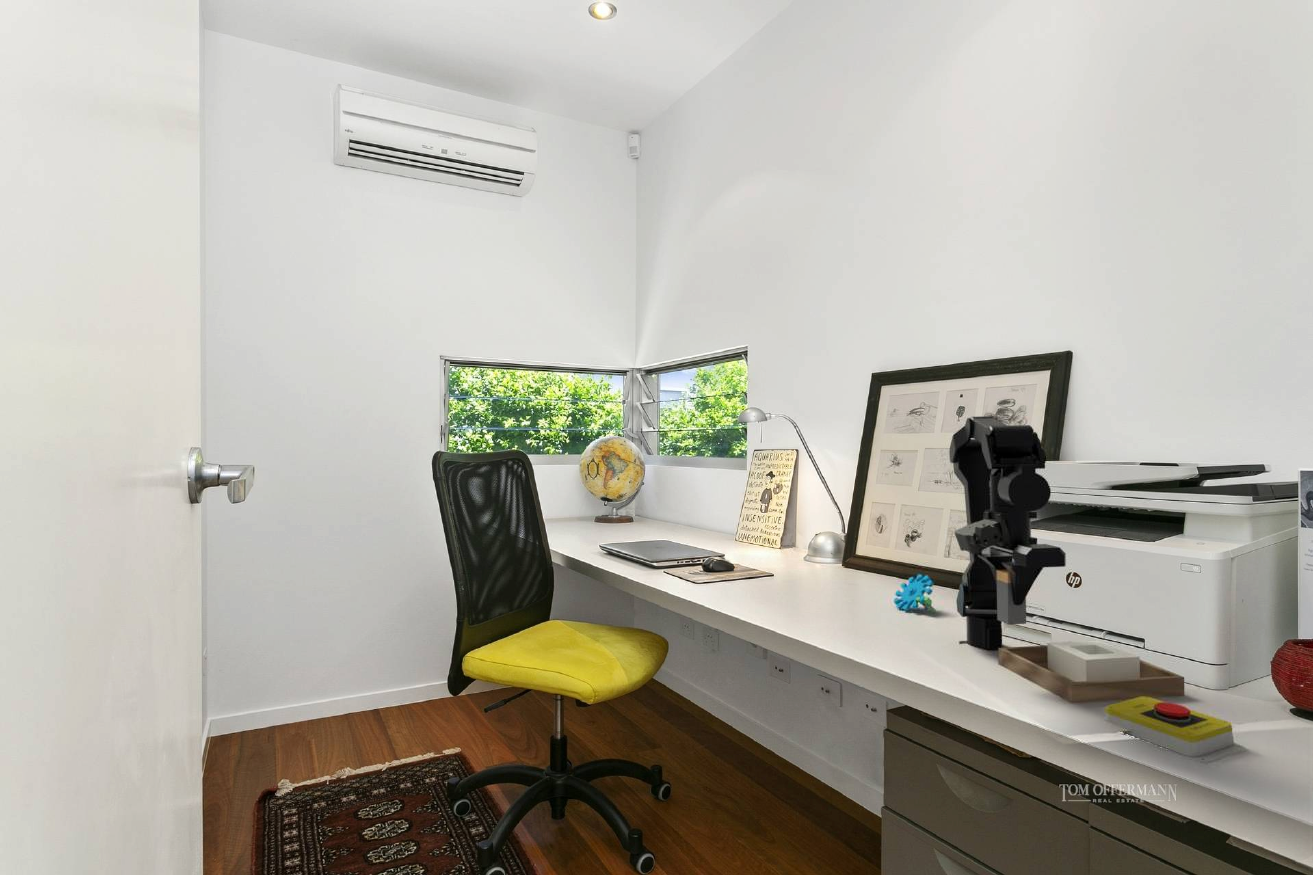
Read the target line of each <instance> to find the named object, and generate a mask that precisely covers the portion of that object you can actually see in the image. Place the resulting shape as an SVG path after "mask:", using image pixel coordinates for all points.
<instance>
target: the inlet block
mask: <svg viewBox="0 0 1313 875" xmlns="http://www.w3.org/2000/svg"><path fill="white" fill-rule="evenodd" d="M1046 645H1048V669H1050V670H1052V671H1054V672H1056V673H1058V674H1060V675H1062V676H1064V677H1066V678H1068V679H1070V680H1072V681H1075V682H1083V681H1099V680H1115V679H1131V678H1140V660H1141V656H1139V655H1136V654H1134V653H1131V652H1128V651H1127V650H1123V649H1122V648H1118V647H1116V646H1113V645H1111V644H1108V643H1105V642H1103V641H1101V640H1098V639H1097V640H1079V641H1078V640H1077V641H1063V642H1048V643H1047V644H1046Z"/></svg>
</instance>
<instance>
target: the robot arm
mask: <svg viewBox="0 0 1313 875" xmlns="http://www.w3.org/2000/svg"><path fill="white" fill-rule="evenodd" d="M948 452H949V462H950V463H951V464H953V465H952V466H953V474H954V475H955V476H956V478H957V479H958V480H959V481H960V483H961V484H962V485H963V489H964V490H963V491H964V499H965V501H964V502H965V514H966V525H965V526H963V527H960V528H958V529H956V530H955V531H954V536H955V537H956V538H955V539H956V540H957V544H958V547H959V549H960V551H962V552H964V551H965V552H967V553H968V554H969V563H968V565H967V567H966V568H965V570H964V572H963V574H962V577H961V579H962V580H961V583H959V589H958V592H957V597H956V610H957V613H958V614H959V615H960V616H961V617H962V618H966V640H959V641H958V644H959V645H966V644H967V645H968V646H970V647H974V648H977V649H981V650H985V651H989V652H991V651H998V648H1003V627H1002V625H1003V624H1002V623H1003V622H1001V621H999V620H997V570H1008V571H1009V572H1010V579H1011V588H1012V596H1013V602H1014V605H1022V603H1023V602H1024V600H1025V598H1026V599H1027V596H1028V594H1029V592H1030V590H1031V588H1032V586H1033V585H1034V583H1035V581H1036V580H1037V579H1038V576H1039V575H1040V573H1041V572H1042V570H1044V569H1045V568H1060V567H1061V568H1063V567H1066V565H1067V561H1066V560H1067V559H1066V556H1067V555H1066V552H1065V551H1064V550H1063V549H1062V548H1061V547H1059V546H1055V545H1051V544H1049V543H1048V544H1047V543H1040V544H1039V543H1038V538H1037V537H1034V536H1032V521H1031V520H1032V519H1037V518H1038V512H1037V511H1038V510H1041V509H1042V508H1043V507H1045V506H1046V505H1047V504H1048V502H1049V500H1050V498H1051V493H1052V491H1051V487H1050V484H1049V482H1048V481H1047V479H1046V477H1043V475H1041V474H1039V473H1038V472H1036V470H1041V469H1042V470H1043V469H1044V470H1045V469H1046V462H1047V456H1046V453H1045V452H1046V451H1045V450H1044V447H1043V445H1042V441H1041V439H1040V438H1039V436H1038V433H1037V432H1036V431H1035V430H1034V429H1033V427H1032V426H1031V425H1030V424H1027V425H1026V424H1020V425H1019V424H1018V425H1017V424H1016V425H1015V424H1014V425H1007V424H1005V423H1003V422H1002V421H1000V420H998V418H997V417H994V416H992V415H991V416H990V415H987V416H971V417H967V418H966V421H965V424H964V426H962V427H961V428H960V429H959V430H958V431H956V432H955V433H954V434H952V438H951V442H950V445H949V451H948Z"/></svg>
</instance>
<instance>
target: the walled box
mask: <svg viewBox="0 0 1313 875" xmlns="http://www.w3.org/2000/svg"><path fill="white" fill-rule="evenodd" d="M997 651H998V653H997V654H998V665H999V666H1001V667H1003V668H1005V669H1006V670H1009V671H1010V672H1011V673H1014V674H1016V675H1017V676H1019V677H1022V678H1024V679H1026V680H1027V681H1029V682H1031V683H1032V684H1034V685H1036V686H1039V687H1041V688H1043V689H1044V690H1046V691H1048V692H1049V693H1051V694H1053V695H1055V696H1057V697H1059V698H1061V699H1062V700H1064V701H1066V702H1068V703H1070V704H1081V703H1084V704H1085V703H1094V702H1095V703H1097V702H1110V701H1126V700H1130V699H1134V698H1138V697H1143V696H1144V697H1150V698H1154V699H1156V698H1157V699H1158V698H1172V697H1184V696H1185V695H1186V694H1185V677H1184V676H1182V675H1181V674H1180V675H1179V674H1177V673H1176V672H1175V673H1174V672H1172V671H1169V670H1167V669H1164V668H1162V667H1159V666H1156V665H1154V664H1152V663H1150V662H1147V661H1144V660H1142V659H1140V678H1131V679H1115V680H1099V681H1083V682H1075V681H1072V680H1070V679H1068V678H1066V677H1064V676H1062V675H1060V674H1058V673H1056V672H1054V671H1052V670H1050V669H1048V644H1046V645H1044V644H1043V645H1032V646H1031V645H1028V646H1014V647H1013V646H1012V647H1008V646H1007V647H1002V648H998V650H997Z"/></svg>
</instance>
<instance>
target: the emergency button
mask: <svg viewBox="0 0 1313 875" xmlns="http://www.w3.org/2000/svg"><path fill="white" fill-rule="evenodd" d="M1104 719H1105V720H1104V721H1105V722H1107V723H1110V724H1112V725H1114V726H1118V727H1121V728H1124V729H1126V730H1125V731H1121V732H1123V733H1124V734H1123V735H1125V734H1128V735H1130V736H1134V737H1135V738H1139V739H1140V740H1139V741H1141V740H1144V741H1145V743H1146V742H1149V743H1151V744H1150V745H1152V744H1153V745H1152V746H1154V745H1156V746H1155V747H1157V748H1160V747H1162V748H1161V749H1163V748H1164V749H1163V750H1165V749H1167V750H1166V751H1168V750H1169V751H1168V752H1171V751H1172V752H1171V753H1173V754H1176V755H1179V756H1181V755H1182V757H1185V758H1188V759H1190V760H1192V761H1195V762H1199V763H1204V764H1211V763H1215V762H1217V761H1220V760H1223V759H1226V758H1229V757H1231V756H1235V755H1238V754H1241V753H1243V752H1246V751H1247V748H1246V746H1244V745H1242V744H1240V743H1237V742H1235V741H1234V735H1233V726H1232V723H1231V722H1229V721H1227V720H1223V719H1220V718H1217V717H1215V716H1210V715H1208V714H1204V713H1203V712H1202V713H1201V712H1198V711H1195V710H1191V709H1189V708H1188V707H1186V706H1183V705H1181V704H1177V703H1172V702H1166V701H1164V700H1159V699H1158V698H1157V699H1156V698H1150V697H1144V696H1143V697H1138V698H1134V699H1129V700H1122V701H1120V702H1116V703H1112V704H1109V705H1107V706H1105V717H1104ZM1130 736H1129V737H1130ZM1135 738H1134V739H1135ZM1144 741H1143V742H1144ZM1149 743H1148V744H1149Z"/></svg>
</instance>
